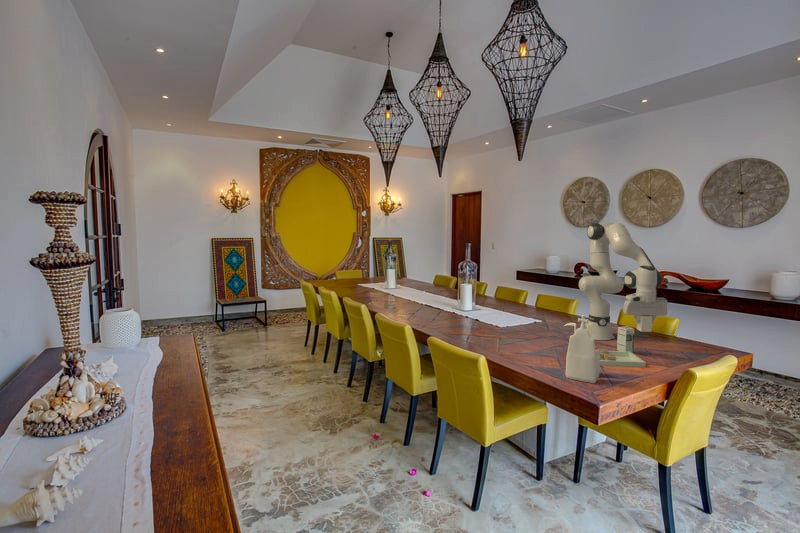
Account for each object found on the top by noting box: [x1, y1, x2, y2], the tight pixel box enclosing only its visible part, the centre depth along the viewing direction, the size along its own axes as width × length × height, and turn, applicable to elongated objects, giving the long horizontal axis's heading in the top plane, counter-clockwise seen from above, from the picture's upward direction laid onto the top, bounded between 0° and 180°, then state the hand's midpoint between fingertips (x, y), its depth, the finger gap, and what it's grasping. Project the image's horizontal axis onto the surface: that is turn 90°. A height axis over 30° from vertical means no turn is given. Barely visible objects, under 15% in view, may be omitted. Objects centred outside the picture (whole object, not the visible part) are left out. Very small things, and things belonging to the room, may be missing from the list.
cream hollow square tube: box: [636, 315, 653, 333], centre depth 207 cm, size 5×5×8 cm
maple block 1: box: [597, 348, 610, 354], centre depth 208 cm, size 4×4×4 cm
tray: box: [599, 350, 647, 368], centre depth 203 cm, size 17×22×4 cm
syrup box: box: [616, 325, 635, 354], centre depth 217 cm, size 6×6×14 cm
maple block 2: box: [598, 351, 606, 360], centre depth 203 cm, size 4×4×4 cm
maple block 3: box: [604, 354, 616, 361], centre depth 199 cm, size 4×4×4 cm
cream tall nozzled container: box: [563, 314, 601, 384], centre depth 184 cm, size 17×14×30 cm
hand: (644, 323), depth 207 cm, fingers closed on cream hollow square tube, 5 cm apart
